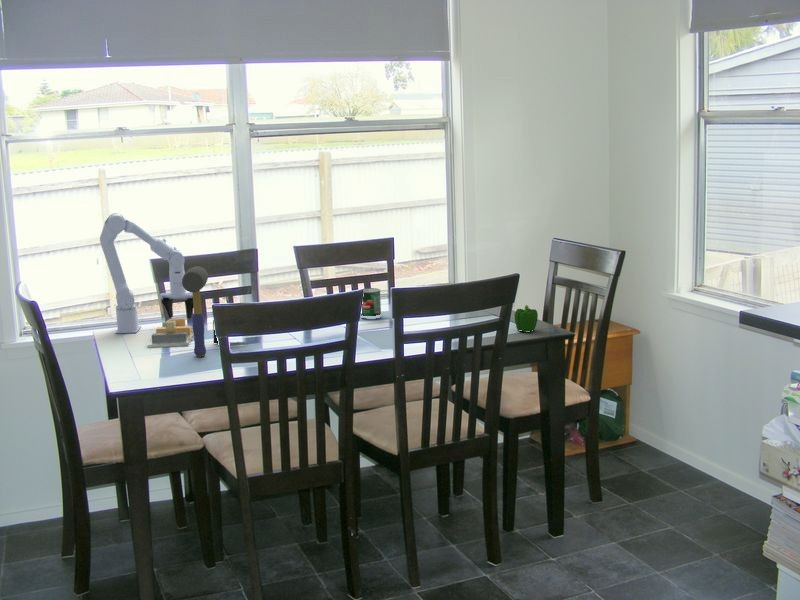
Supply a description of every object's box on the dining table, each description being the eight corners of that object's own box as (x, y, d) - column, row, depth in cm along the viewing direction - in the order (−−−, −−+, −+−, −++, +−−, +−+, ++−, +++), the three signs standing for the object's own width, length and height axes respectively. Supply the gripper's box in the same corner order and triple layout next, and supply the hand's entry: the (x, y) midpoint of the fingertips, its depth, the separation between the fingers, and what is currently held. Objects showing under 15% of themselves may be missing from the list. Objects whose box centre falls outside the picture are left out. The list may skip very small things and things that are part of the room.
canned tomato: (383, 315, 365) (382, 288, 363) (378, 320, 358) (378, 292, 355) (363, 315, 367) (362, 287, 364) (358, 319, 359) (357, 291, 357)
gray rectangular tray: (158, 331, 347) (158, 322, 346) (196, 330, 348) (196, 320, 347) (147, 347, 323) (146, 337, 323) (188, 345, 324) (187, 336, 324)
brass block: (168, 336, 334) (167, 320, 333) (176, 336, 334) (175, 320, 333) (166, 339, 330) (165, 323, 329) (175, 339, 331) (173, 322, 329)
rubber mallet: (209, 360, 304) (203, 270, 298) (186, 361, 304) (179, 271, 298) (214, 351, 317) (208, 264, 311) (192, 351, 316) (186, 265, 310)
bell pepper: (517, 328, 340) (517, 301, 338) (539, 329, 337) (539, 302, 335) (511, 333, 332) (511, 306, 330) (534, 334, 329) (534, 307, 327)
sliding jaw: (161, 328, 346) (160, 319, 345) (193, 327, 347) (193, 317, 346) (156, 335, 336) (155, 325, 335) (190, 334, 337) (189, 324, 336)
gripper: (155, 284, 349) (157, 319, 352) (191, 284, 346) (193, 320, 349) (163, 280, 356) (166, 315, 358) (198, 281, 353) (201, 316, 355)
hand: (180, 317), depth 354 cm, fingers open, 7 cm apart
